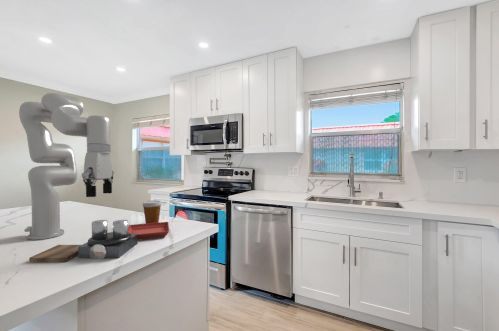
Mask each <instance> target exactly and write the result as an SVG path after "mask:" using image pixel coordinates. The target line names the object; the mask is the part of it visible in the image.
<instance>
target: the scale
mask: <svg viewBox="0 0 499 331" xmlns="http://www.w3.org/2000/svg"><path fill="white" fill-rule="evenodd" d="M138 242H139V240H138V234H130V233H128V237H127V238H124V239H113V231H111V232H108V236H107V237H106V238H103V239H97V240H95V239H92V236H91V237H89V238H88V239H87V242H85V243H83V244H80V245H81V246H79V247H78V255H77V257H78V259H92V260H103V259H119V258H121V257H122V256H124V255H125V254H126V253H128V252H130V251H131V250H132V248H134V247H135V246H137V245H138Z"/></svg>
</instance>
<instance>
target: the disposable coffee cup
mask: <svg viewBox="0 0 499 331" xmlns="http://www.w3.org/2000/svg"><path fill="white" fill-rule="evenodd" d="M161 206H162V201H161V200H146V201H145V200H144V201H143V203H142V207H143V213H144V220H145V224H147V223H159V221H160V214H161Z"/></svg>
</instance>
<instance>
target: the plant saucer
mask: <svg viewBox="0 0 499 331" xmlns="http://www.w3.org/2000/svg"><path fill="white" fill-rule="evenodd" d="M169 226H170V224H169V221H163V222H162V221H160V222H159V223H147V224H146V223H138V224H130V225H129V224H128V233H130V234H138V241H139V240H148V239H149V240H150V239H159V237H160V238H164V237H165V238H166V236H167V235H168V234H169V232H170V227H169Z"/></svg>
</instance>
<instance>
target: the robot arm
mask: <svg viewBox="0 0 499 331" xmlns="http://www.w3.org/2000/svg"><path fill="white" fill-rule="evenodd" d="M84 107H85V106H84V103H83V102H82V100H80V99H79V97H78V98H77V97H74V96H71V95H66V94H63V93H62V94H61V93H57V92H48V93H46V94H44V95H42V97H41V101H40V102H38V101H24V102H23V103H21V105H20V106H19V109H18V110H19V111H18V115H19V120H20V123H21V125H22V128H23V129H24V132H25V134H26V138H27V146H28V152H29V153H28V154H29V158H30V160H31V161H32V162H33V163H36V164H59V165H38V166H33V167H32V168H31V169H29V171H28V173H27V179H28V183H29V188H30V194H31V195H30V196H31V225H30V226H26V228H24V232H29V234H28V235H27V236H26V238H27V240H29V241H30V240H31V241H35V240H36V241H37V240H38V241H39V240H45V239H46V240H47V239H51V238H57V237H59V236H62V235H63V234H65V230H64V229H63V228H61V214H60V213H61V207H60V206H61V202H60V201H61V200H60V195H59V192H57V190H56V189H55V188H54V187H59V186H60V187H61V186H70V185H74V184H75V183H76V182H77V180H78V170H77V164H76V159H75V158H76V157H75V153H74V150H73V148H72V147H71V146H70V145H68V144H66V143H57V142H54V141H53V136H52V132H51V131H50V129H49V128H47V127H46V125H44V124H43V123H48V124H52V126H53V128H55V129H56V130H57V131H58V132H59V133H61V134H63V135H66V136H70V137H71V136H72V137H83V138H86V152H85V156H84V162H83V163H84V164H83V173H81V177H82V179H83V180H82V181H83V183H84V186H85V197H86V198H96V197H97V185H95V184H96V182H98V181H100V180H102V181H103V183H102V193H103V194H112V193H113V183H114V182H113V180H114V175H115V172H114V171H113V164H112V156H111V151H112V149H111V148H112V147H111V145H112V144H111V119H110V118H109V117H107V116H104V115H96V114H95V115H94V114H93V115H89V116H87V117H85V116H81V115H82V114H83V113H84V110H85V108H84Z"/></svg>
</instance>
